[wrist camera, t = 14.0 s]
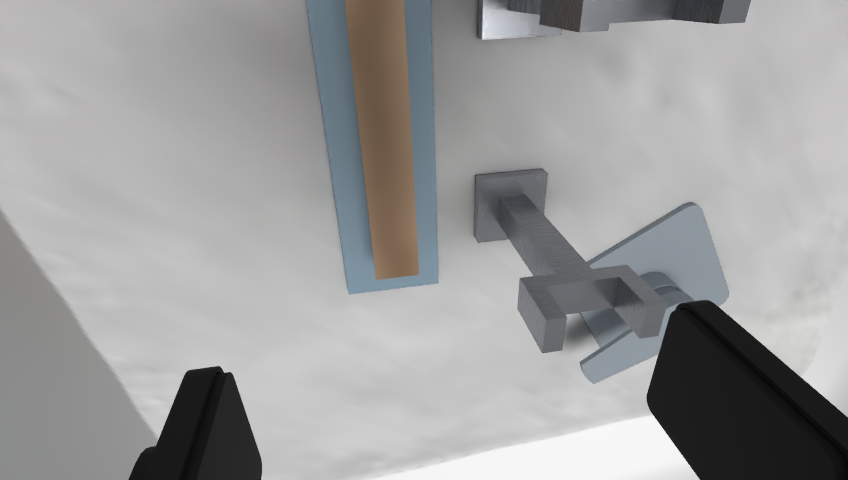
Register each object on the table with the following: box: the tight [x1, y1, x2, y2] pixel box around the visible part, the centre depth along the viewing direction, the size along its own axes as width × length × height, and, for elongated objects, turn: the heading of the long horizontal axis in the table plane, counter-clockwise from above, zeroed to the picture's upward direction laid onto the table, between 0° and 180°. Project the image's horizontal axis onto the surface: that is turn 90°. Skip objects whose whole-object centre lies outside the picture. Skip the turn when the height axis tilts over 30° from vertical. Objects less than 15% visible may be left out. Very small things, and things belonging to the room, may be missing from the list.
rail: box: [344, 0, 419, 280], centre depth 28 cm, size 3×20×3 cm, turn 3°
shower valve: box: [580, 202, 729, 384], centre depth 39 cm, size 12×6×15 cm
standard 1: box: [474, 169, 667, 353], centre depth 28 cm, size 6×5×14 cm
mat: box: [306, 0, 438, 294], centre depth 29 cm, size 7×26×1 cm, turn 3°
